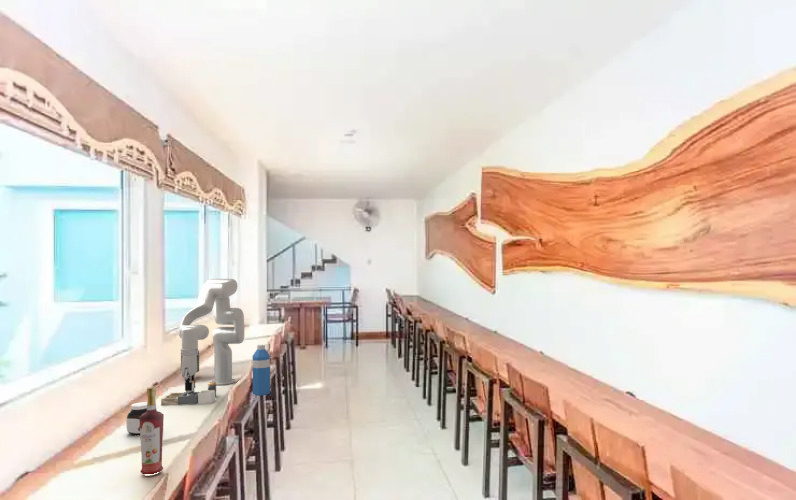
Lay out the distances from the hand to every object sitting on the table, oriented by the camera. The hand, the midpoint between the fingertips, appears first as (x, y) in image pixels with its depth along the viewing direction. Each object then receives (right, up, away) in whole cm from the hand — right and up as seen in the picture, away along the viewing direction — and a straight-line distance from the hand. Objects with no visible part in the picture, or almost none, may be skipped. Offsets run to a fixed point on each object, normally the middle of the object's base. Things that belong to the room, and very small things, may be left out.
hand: (190, 389), depth 279 cm
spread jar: (-2, -6, -47) cm, 48 cm away
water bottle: (+31, -6, +16) cm, 36 cm away
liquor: (+22, -5, -93) cm, 96 cm away
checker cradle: (0, -6, 0) cm, 6 cm away
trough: (-8, -6, +1) cm, 10 cm away
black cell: (+7, -6, +10) cm, 14 cm away
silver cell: (0, -3, 0) cm, 3 cm away
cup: (+8, -6, -1) cm, 10 cm away
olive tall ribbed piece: (-20, -7, +54) cm, 58 cm away
